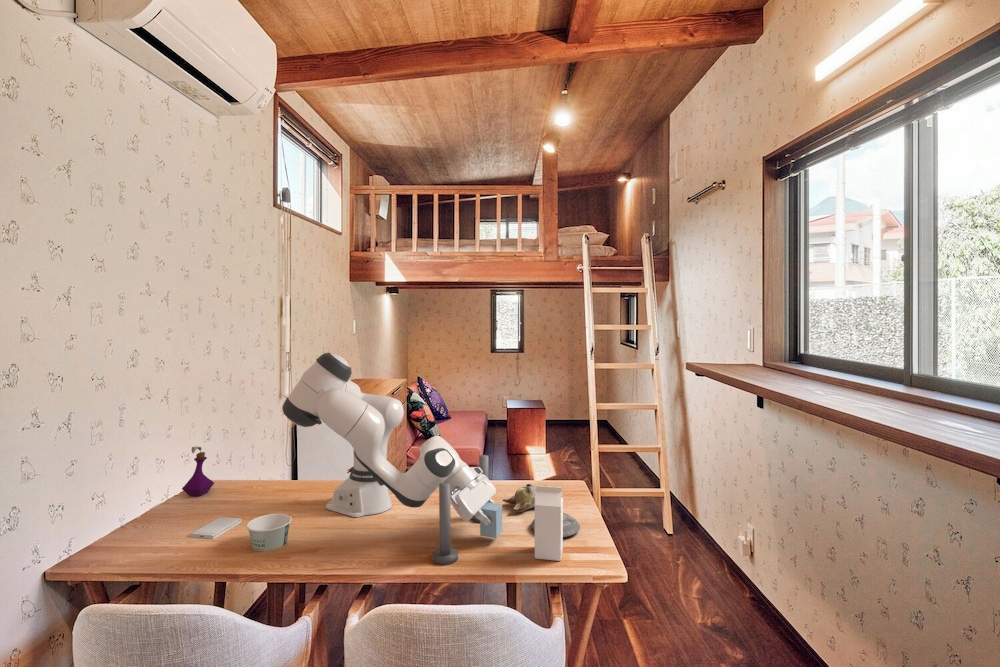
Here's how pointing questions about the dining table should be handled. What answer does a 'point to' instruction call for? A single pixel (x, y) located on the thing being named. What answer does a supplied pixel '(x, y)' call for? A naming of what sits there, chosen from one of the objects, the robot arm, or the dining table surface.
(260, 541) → the food container
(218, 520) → the hard drive
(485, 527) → the slate block
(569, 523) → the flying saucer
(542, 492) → the milk carton
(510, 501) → the ceramic sculpture
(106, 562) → the dining table surface
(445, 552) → the near post
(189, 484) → the perfume bottle
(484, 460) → the far post
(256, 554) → the dining table surface
